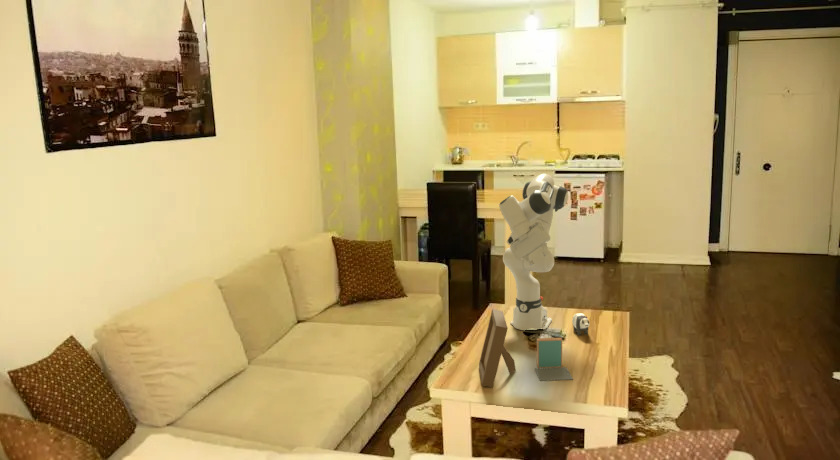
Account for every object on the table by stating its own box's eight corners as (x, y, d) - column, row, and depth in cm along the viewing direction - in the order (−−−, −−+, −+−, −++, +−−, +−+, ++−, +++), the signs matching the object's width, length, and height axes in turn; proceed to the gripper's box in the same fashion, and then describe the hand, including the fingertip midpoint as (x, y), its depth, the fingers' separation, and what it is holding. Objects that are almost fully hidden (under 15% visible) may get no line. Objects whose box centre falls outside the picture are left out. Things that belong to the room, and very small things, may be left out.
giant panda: (571, 329, 331) (571, 309, 329) (582, 328, 331) (583, 309, 330) (580, 339, 317) (581, 319, 315) (592, 338, 317) (593, 318, 315)
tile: (560, 364, 288) (560, 337, 285) (562, 367, 285) (562, 339, 283) (536, 365, 288) (536, 338, 285) (537, 368, 285) (537, 340, 283)
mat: (534, 369, 284) (534, 368, 284) (566, 368, 284) (566, 367, 284) (540, 380, 272) (540, 379, 272) (573, 379, 272) (573, 378, 272)
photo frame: (481, 387, 268) (481, 325, 263) (478, 366, 289) (478, 308, 284) (520, 387, 267) (520, 325, 262) (514, 366, 288) (514, 308, 284)
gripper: (543, 218, 285) (560, 247, 282) (513, 240, 300) (529, 268, 297) (534, 221, 281) (550, 251, 278) (504, 243, 296) (519, 271, 293)
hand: (539, 260), depth 288 cm, fingers open, 8 cm apart
